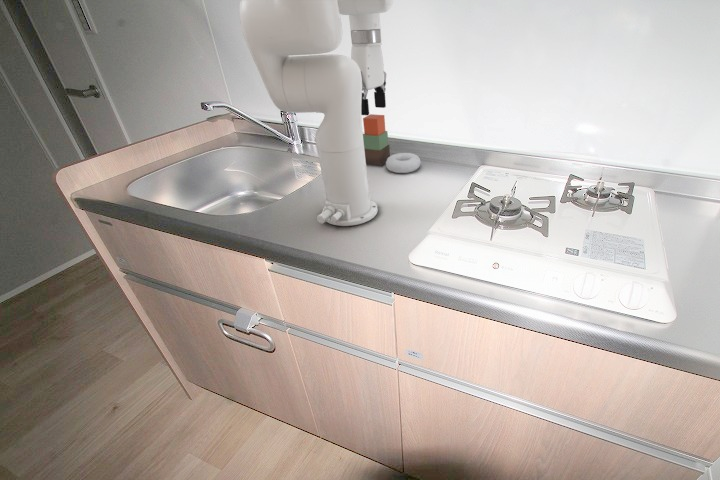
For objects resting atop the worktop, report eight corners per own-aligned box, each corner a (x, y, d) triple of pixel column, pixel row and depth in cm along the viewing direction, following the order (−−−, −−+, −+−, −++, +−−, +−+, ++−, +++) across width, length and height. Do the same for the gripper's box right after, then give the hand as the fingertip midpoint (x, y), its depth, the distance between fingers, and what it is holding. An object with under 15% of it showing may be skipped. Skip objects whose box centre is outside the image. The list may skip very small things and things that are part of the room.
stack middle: (379, 150, 104) (378, 136, 102) (363, 148, 107) (361, 135, 104) (388, 144, 108) (387, 131, 106) (372, 143, 111) (371, 129, 108)
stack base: (381, 166, 107) (380, 151, 104) (363, 164, 109) (362, 149, 106) (390, 159, 111) (389, 144, 109) (373, 157, 113) (371, 142, 111)
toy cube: (378, 135, 103) (377, 119, 100) (364, 134, 104) (362, 118, 102) (385, 131, 106) (384, 115, 103) (372, 130, 108) (370, 114, 105)
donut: (392, 161, 110) (381, 173, 102) (391, 150, 108) (380, 161, 100) (424, 163, 107) (415, 176, 99) (424, 152, 105) (415, 163, 97)
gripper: (369, 37, 99) (375, 104, 109) (334, 41, 87) (344, 117, 96) (394, 36, 96) (397, 105, 106) (362, 40, 84) (369, 118, 93)
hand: (372, 111), depth 101 cm, fingers open, 9 cm apart
